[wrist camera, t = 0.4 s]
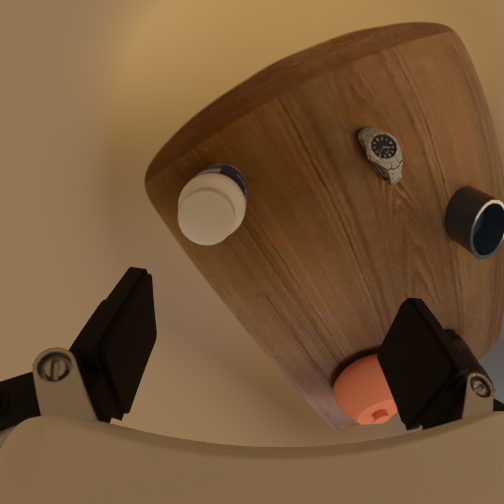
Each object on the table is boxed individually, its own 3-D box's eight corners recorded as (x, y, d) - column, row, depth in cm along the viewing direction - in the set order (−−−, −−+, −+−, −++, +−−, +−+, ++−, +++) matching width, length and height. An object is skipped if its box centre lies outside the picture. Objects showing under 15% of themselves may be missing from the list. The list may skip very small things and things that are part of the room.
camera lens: (433, 364, 40) (463, 424, 27) (413, 353, 39) (447, 422, 25) (463, 334, 37) (501, 392, 24) (447, 320, 36) (490, 385, 22)
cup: (472, 175, 26) (499, 186, 21) (487, 217, 28) (512, 232, 23) (437, 211, 28) (463, 227, 23) (456, 251, 30) (478, 270, 25)
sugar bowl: (318, 369, 39) (329, 424, 30) (400, 327, 36) (427, 377, 27) (344, 400, 44) (355, 446, 34) (412, 366, 40) (433, 409, 31)
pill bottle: (254, 204, 28) (254, 243, 20) (206, 220, 29) (185, 263, 20) (238, 155, 26) (229, 170, 17) (187, 172, 27) (156, 197, 18)
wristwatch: (370, 121, 24) (391, 122, 20) (396, 170, 26) (420, 180, 22) (344, 137, 25) (361, 140, 21) (372, 186, 27) (393, 199, 23)
